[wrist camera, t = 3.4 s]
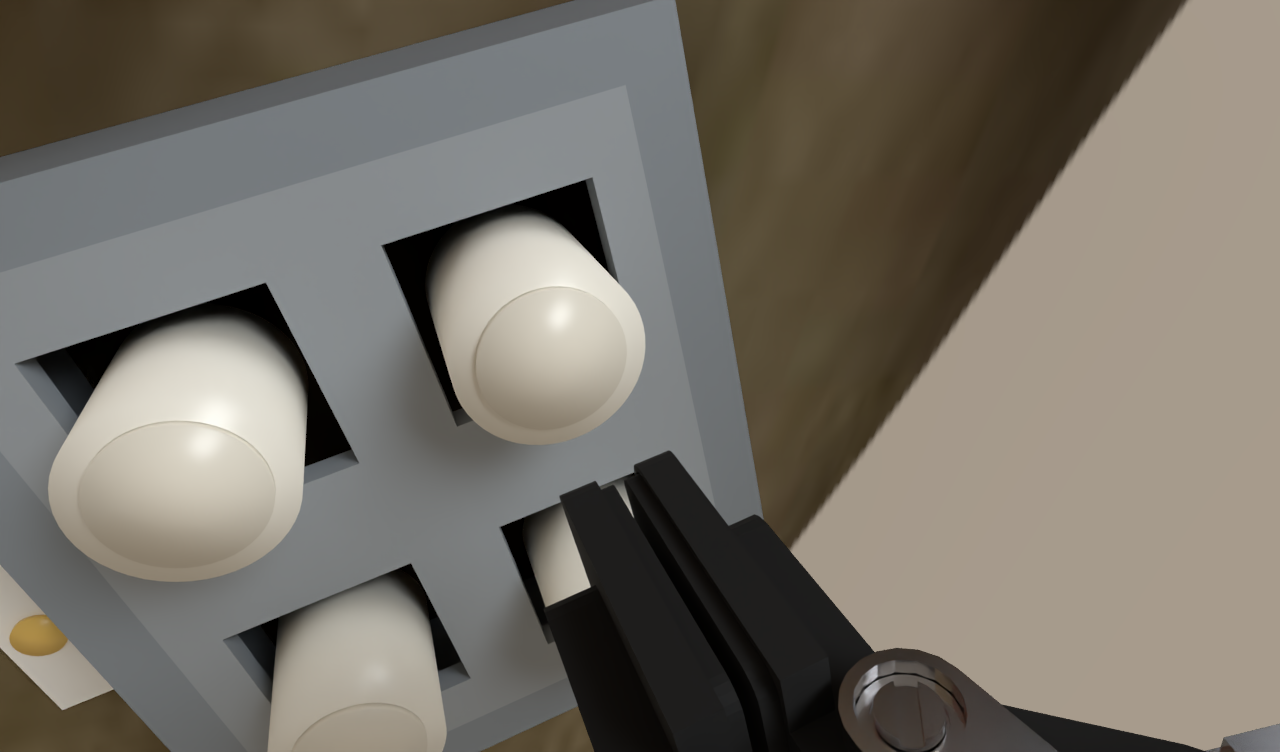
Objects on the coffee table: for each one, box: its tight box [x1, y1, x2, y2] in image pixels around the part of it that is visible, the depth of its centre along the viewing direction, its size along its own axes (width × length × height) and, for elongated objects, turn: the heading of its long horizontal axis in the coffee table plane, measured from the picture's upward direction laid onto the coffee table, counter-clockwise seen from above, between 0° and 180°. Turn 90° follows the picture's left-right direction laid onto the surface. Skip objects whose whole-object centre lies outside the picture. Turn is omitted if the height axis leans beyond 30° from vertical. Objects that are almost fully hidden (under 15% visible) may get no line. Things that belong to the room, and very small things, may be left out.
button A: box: [425, 204, 645, 445], centre depth 18 cm, size 4×4×5 cm
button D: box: [267, 569, 447, 752], centre depth 21 cm, size 4×4×5 cm
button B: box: [522, 474, 634, 607], centre depth 22 cm, size 4×4×5 cm
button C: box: [48, 304, 309, 582], centre depth 16 cm, size 4×4×5 cm
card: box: [0, 565, 113, 710], centre depth 22 cm, size 4×11×1 cm, turn 13°
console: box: [0, 0, 764, 752], centre depth 22 cm, size 18×20×5 cm
